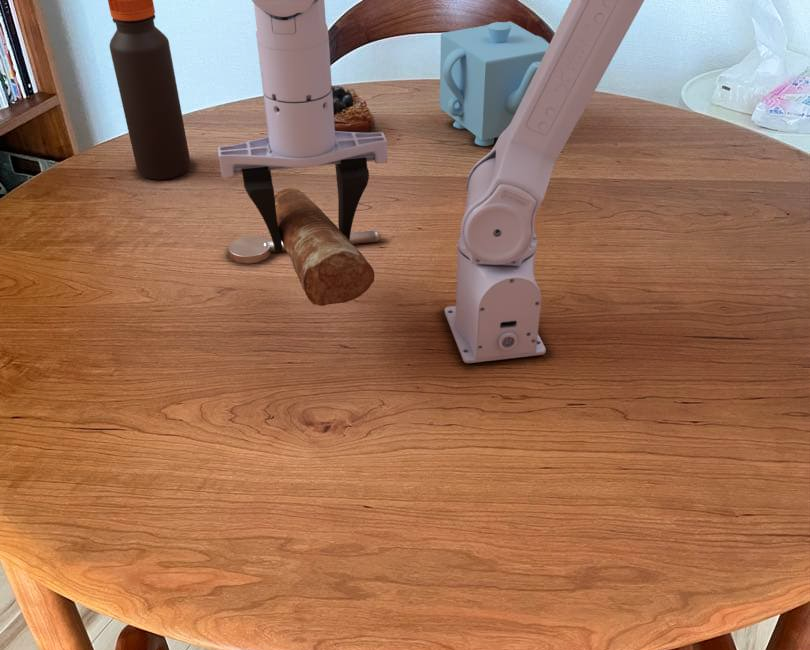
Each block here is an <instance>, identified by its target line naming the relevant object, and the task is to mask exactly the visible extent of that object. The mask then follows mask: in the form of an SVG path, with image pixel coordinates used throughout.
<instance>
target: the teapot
mask: <svg viewBox="0 0 810 650" xmlns="http://www.w3.org/2000/svg"><path fill="white" fill-rule="evenodd" d="M549 44H550V43H549V42H548V41H547V40H546V39H545V38H543V37H542V36H539V35H535V34H534V33H532V32H530V31H529V30H526V29H525V28H523V27H521V26H520V25H519V24H516V23H515V22H512V21H495V22H491V23H489V24H485V25H480V26H474V27H469V28H463V29H462V28H461V29H458V30H451V31H450V30H449V31H444V32H441V33H440V61H439V63H440V65H439V67H440V68H439V70H440V71H439V109H440V110H442V111H443V112H444V113H445V114H447V115H448V116H450V117H451V118H452V119H453V120H454V122H453V124H452V125H453V127H454V128H456V129H462V130H465V129H466V130H468V131H469V132H470V133H471V134H473V135H474V136H475V138H474V144H476V145H478V146H482V147H488V146H491V145H493V144H494V143H495V138H499V136H500V135H501V134H502V132H503V131H504V130H505V129H506V128H507V127H508V126H509V125H510V123H511V121H512V119H513V117H514V115H515V113H516V111H517V109H518V107H519V105H520V103H521V101H522V99H523V97H524V95H525V93H526V91H527V89H528V87H529V85H530V83H531V81H532V79H533V77H534V75H535V73H536V71H537V69H538V67H539V65H540V63H541V61H542V59H543V57H544V55H545V53H546V51H547V48H548V46H549Z"/></svg>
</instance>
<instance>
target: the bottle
mask: <svg viewBox="0 0 810 650" xmlns="http://www.w3.org/2000/svg"><path fill="white" fill-rule="evenodd" d="M107 2H108V3H107V4H108V9H109V13H110V16H111V19H112V22H113V24H115V26H116V31H115V32H114V34H113V35H112V37H111V38H110V42H109V52H110V56H111V60H112V65H113V69H114V73H115V74H114V75H115V78H116V82H117V87H118V91H119V96H120V101H121V104H122V110H123V114H124V118H125V122H126V127H127V132H128V135H129V140H130V145H131V149H132V154H133V158H134V163H135V167H136V170H137V172H138V174H139V175H140V176H142V177H144V178H146V179H148V180H149V179H150V180H156V181H161V180H171V179H175V178H178V177H182V176H183V175H185V174H186V173H187V172H188V171H189V170H190V169H191V157H190V151H189V146H188V140H187V134H186V129H185V124H184V118H183V113H182V106H181V102H180V96H179V91H178V85H177V80H176V75H175V74H176V73H175V69H174V68H175V67H174V63H173V58H172V57H173V56H172V51H171V46H170V41H169V39H168V37H167V36H166V35H165V33H164V32H162V31H161V30H160V29H158V27H156V26H155V20H156V10H155V3H154V0H107Z"/></svg>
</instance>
